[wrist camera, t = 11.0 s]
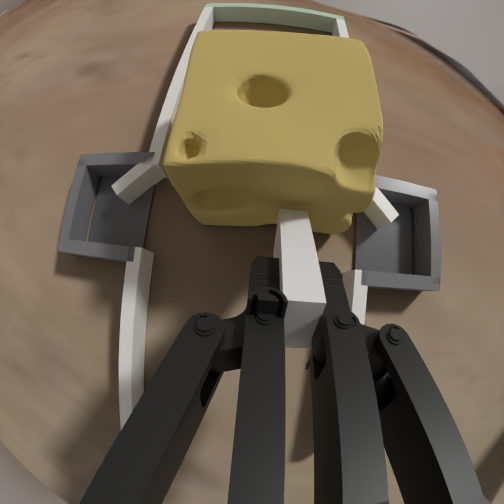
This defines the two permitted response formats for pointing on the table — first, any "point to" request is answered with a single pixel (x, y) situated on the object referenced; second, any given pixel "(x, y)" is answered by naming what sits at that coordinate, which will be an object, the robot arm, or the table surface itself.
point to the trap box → (152, 171)
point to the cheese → (276, 129)
